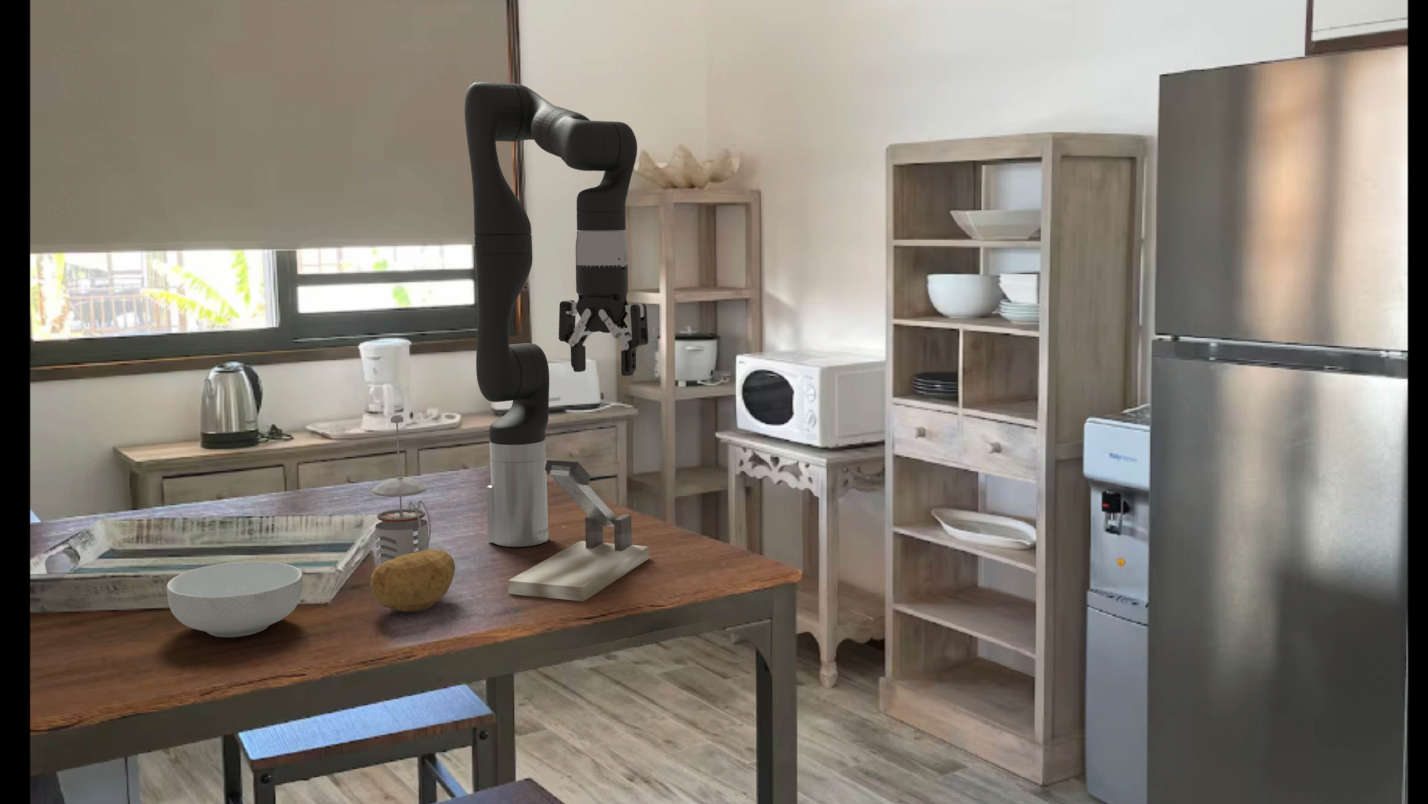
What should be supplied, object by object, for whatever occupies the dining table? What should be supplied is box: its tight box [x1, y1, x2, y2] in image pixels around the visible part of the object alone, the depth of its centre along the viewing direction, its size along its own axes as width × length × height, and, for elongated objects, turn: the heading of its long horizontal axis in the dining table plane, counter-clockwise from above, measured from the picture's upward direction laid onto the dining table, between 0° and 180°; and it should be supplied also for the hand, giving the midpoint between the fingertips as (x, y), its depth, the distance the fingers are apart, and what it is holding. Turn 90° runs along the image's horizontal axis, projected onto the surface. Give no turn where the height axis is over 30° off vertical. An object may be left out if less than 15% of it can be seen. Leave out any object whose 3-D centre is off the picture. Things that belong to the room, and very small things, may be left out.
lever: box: [545, 459, 618, 528], centre depth 195 cm, size 5×21×2 cm
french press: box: [371, 414, 432, 565], centre depth 193 cm, size 10×12×25 cm
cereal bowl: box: [166, 560, 303, 638], centre depth 171 cm, size 17×17×7 cm
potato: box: [369, 548, 456, 613], centre depth 179 cm, size 10×14×8 cm
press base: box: [507, 513, 650, 602], centre depth 194 cm, size 12×24×7 cm, turn 160°
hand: (603, 373), depth 188 cm, fingers open, 8 cm apart
